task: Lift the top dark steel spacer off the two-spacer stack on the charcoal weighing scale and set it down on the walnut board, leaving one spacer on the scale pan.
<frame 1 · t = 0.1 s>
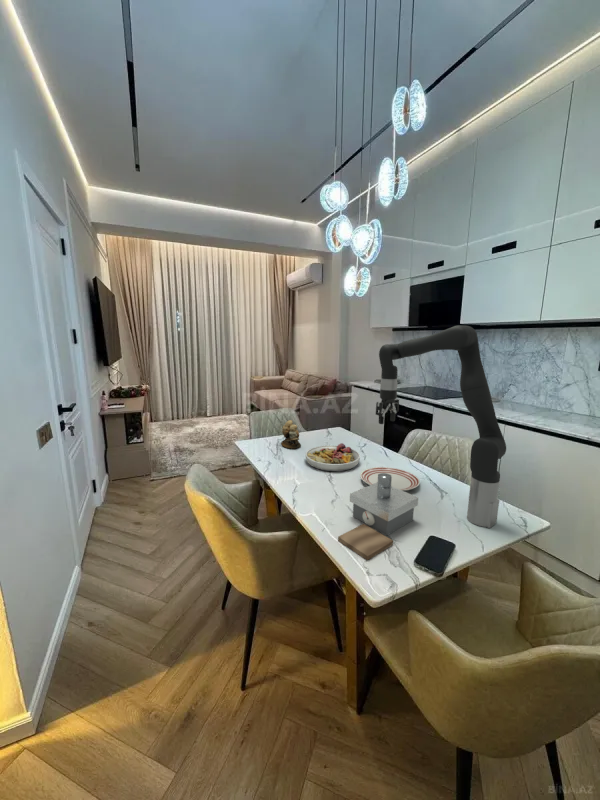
hand: (386, 422, 155), 29 cm above the table, tool pointing down, fingers open, 8 cm apart
dinner plate: (389, 483, 158), on the table
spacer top: (384, 485, 125), point 13 cm above the table, touching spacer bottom
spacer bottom: (383, 495, 125), point 9 cm above the table, touching scale pan, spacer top
bowl: (332, 463, 184), on the table
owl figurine: (291, 446, 212), on the table
scale: (382, 518, 127), on the table
scale pan: (383, 499, 126), point 8 cm above the table, slide at 2.0 cm, touching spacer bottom
walnut board: (365, 542, 112), on the table
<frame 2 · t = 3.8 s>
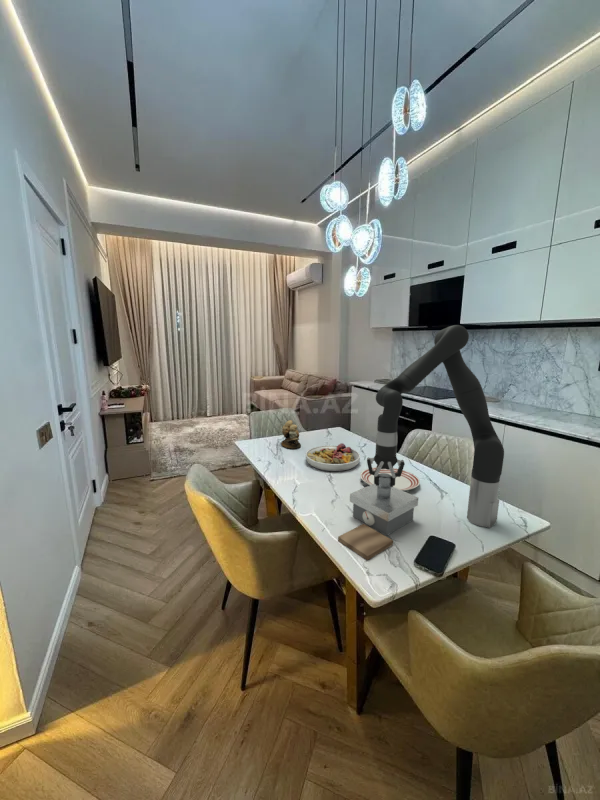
hand: (384, 485, 125), 14 cm above the table, tool pointing down, fingers closed on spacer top, 5 cm apart
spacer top: (384, 485, 125), point 13 cm above the table, touching gripper, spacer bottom
everything else where it was.
when the fingers open (3 cm above the table, at t = 10.9 s): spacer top drops 1 cm, resting on walnut board.
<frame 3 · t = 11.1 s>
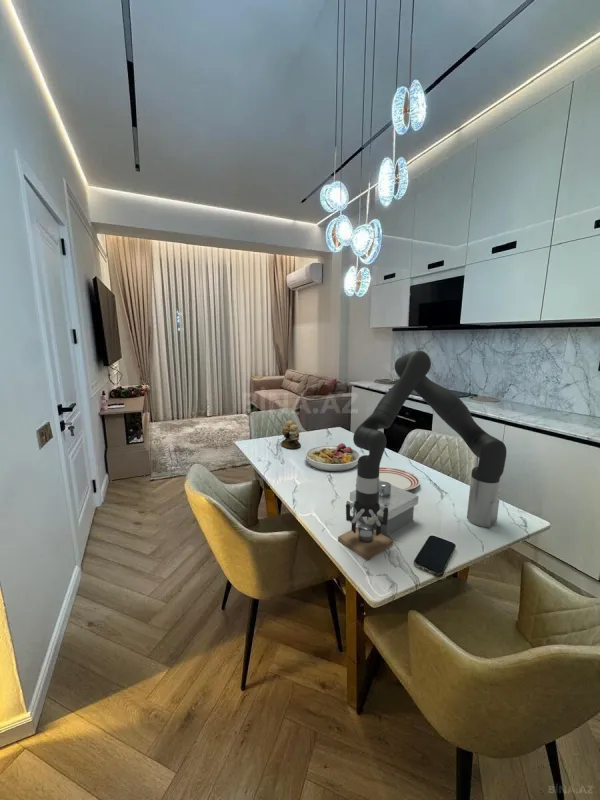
hand: (365, 533, 111), 4 cm above the table, tool pointing down, fingers open, 7 cm apart
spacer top: (365, 538, 112), point 2 cm above the table, touching walnut board
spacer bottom: (383, 494, 125), point 10 cm above the table, touching scale pan
scale pan: (383, 498, 126), point 8 cm above the table, slide at 1.5 cm, touching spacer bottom
everything else where it was.
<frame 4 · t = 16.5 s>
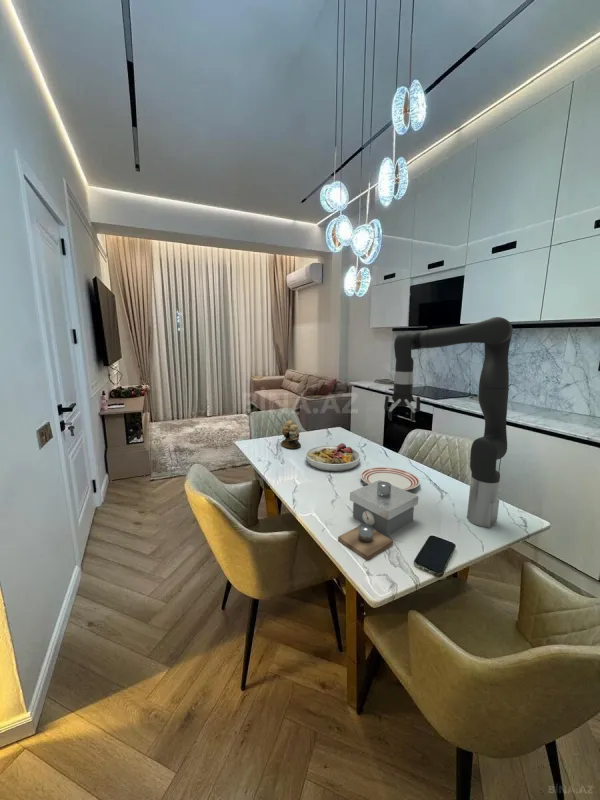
hand: (401, 420, 139), 34 cm above the table, tool pointing down, fingers open, 8 cm apart
nothing on the table moved.
at the end: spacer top inside the target area on the walnut board (0.1 cm from its centre), point 1.5 cm above the walnut board's base; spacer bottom inside the target area on the scale (0.1 cm from its centre), point 10.1 cm above the scale's base; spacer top tilted 0° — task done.
